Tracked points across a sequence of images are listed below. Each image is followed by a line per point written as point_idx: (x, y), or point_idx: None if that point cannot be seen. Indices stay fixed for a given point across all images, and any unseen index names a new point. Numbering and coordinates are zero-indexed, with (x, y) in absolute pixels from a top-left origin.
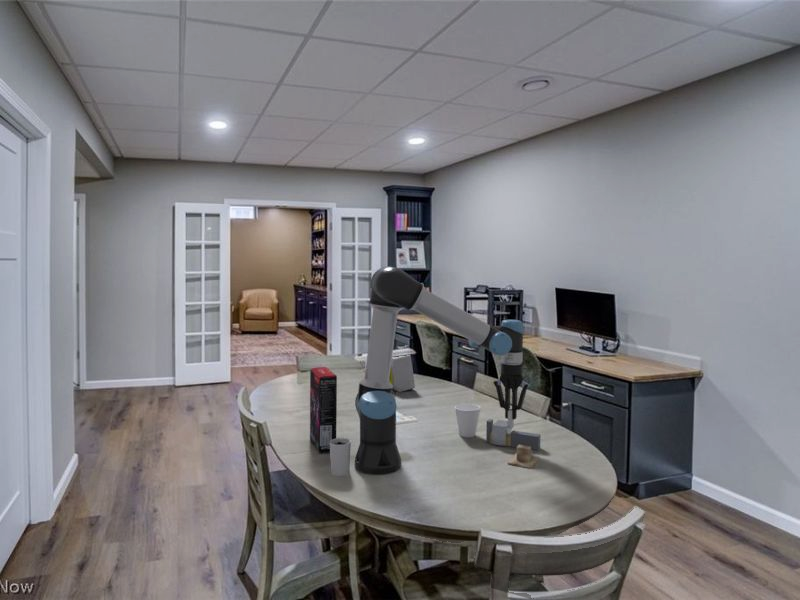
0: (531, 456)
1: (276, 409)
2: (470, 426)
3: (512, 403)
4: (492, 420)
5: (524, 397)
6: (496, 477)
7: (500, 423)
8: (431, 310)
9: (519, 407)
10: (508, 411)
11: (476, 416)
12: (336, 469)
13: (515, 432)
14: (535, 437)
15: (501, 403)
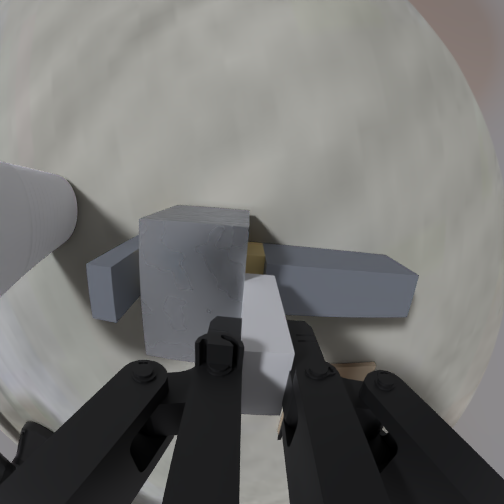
0: (351, 374)
1: None
2: (41, 259)
3: (293, 479)
4: (113, 280)
5: (480, 462)
6: (263, 475)
7: (180, 307)
8: None
9: (367, 441)
10: (242, 407)
11: (21, 256)
12: None
13: (288, 298)
14: (391, 314)
15: (145, 452)
